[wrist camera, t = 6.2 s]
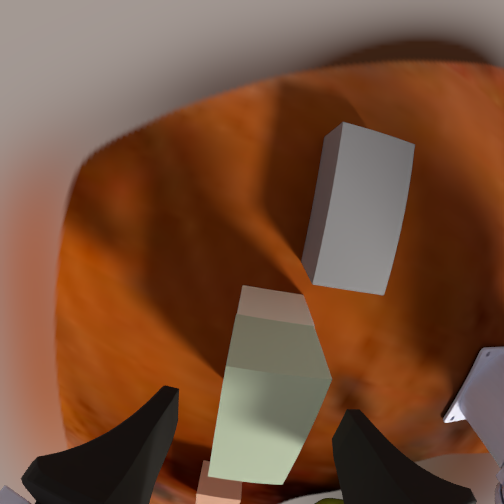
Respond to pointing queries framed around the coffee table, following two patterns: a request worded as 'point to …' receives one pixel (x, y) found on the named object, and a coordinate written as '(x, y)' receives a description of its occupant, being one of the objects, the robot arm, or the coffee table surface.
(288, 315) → the brick cream
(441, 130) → the coffee table surface
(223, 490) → the brick terracotta
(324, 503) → the dumbbell
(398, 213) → the brick charcoal
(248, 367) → the brick sage
